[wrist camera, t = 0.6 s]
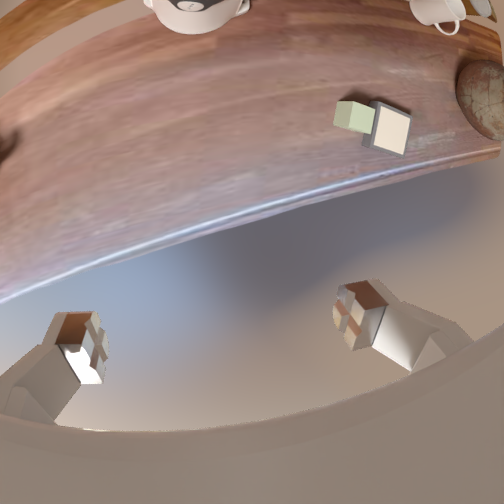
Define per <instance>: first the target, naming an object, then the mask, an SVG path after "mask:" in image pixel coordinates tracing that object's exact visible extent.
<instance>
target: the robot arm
mask: <svg viewBox="0 0 504 504" xmlns="http://www.w3.org/2000/svg"><path fill="white" fill-rule="evenodd" d="M242 1H243V2H244V3H242ZM144 4H145V5H146V6H147V7H149V8H151V9H152V10H154V12H155V13H156V15H157V17H158V19H159V20H160V21H161V22H162V24H164V25H165V26H166V27H168V28H169V29H171V30H173V31H176V32H179V33H184V34H201V33H206V32H210V31H213V30H215V29H217V28H219V27H221V26H222V25H224V24H225V23H226V22H228V21H229V20H230V19H231V18H233V17H235V16H238V15H242V14H244V13H246V12H248V10H249V7H250V4H249V0H144ZM336 295H337V297H338V299H339V300H338V301H337V302H336V303H335V304H334V307H333V320H334V323H335V325H336V327H337V329H338V330H340V331H341V332H344V333H345V335H344V339H345V341H346V342H347V344H348V346H349V347H350V349H351V350H352V351H354V350H358V349H362V348H366V347H369V346H372V347H373V348H375V349H376V350H378V351H379V352H381V353H383V354H384V355H386V356H387V357H389V358H390V359H392V360H393V361H395V362H397V363H398V364H400V365H401V366H403V367H404V368H406V369H408V370H409V371H411V372H410V374H409V375H408V376H406V377H403V378H401V379H399V380H396V381H393V382H391V383H388V384H386V385H383V386H381V387H378V388H375V389H373V390H370V391H367V392H364V393H361V394H359V395H356V396H353V397H350V398H346V399H343V400H340V401H337V402H334V403H330V404H327V405H324V406H320V407H316V408H312V409H308V410H305V411H301V412H297V413H293V414H288V415H283V416H279V417H274V418H269V419H264V420H258V421H253V422H247V423H240V424H234V425H226V426H219V427H209V428H199V429H187V430H170V431H111V430H110V431H109V430H94V429H83V428H74V427H65V426H58V425H57V424H56V423H55V421H54V420H55V419H56V418H57V416H58V415H59V413H60V412H61V411H62V410H63V408H64V407H65V405H66V404H67V403H68V402H69V400H70V399H71V398H72V396H73V395H74V394H75V392H76V391H77V390H78V389H79V387H80V386H81V384H103V382H104V376H105V371H106V367H105V365H104V363H103V362H104V361H105V360H106V359H108V355H109V342H108V338H107V335H106V332H105V331H104V330H103V329H101V328H100V327H99V326H100V323H101V320H100V318H99V315H98V313H96V312H95V311H89V312H58V313H56V314H55V316H54V318H53V320H52V322H51V324H50V326H49V328H48V331H47V333H46V335H45V337H44V339H43V342H42V344H41V345H37V346H35V347H34V348H33V349H32V350H31V351H29V352H28V353H27V354H26V355H25V356H23V357H22V358H21V359H20V360H19V361H18V362H16V363H15V364H14V365H13V366H12V367H10V368H9V369H8V370H7V371H6V372H5V373H4V374H2V375H1V376H0V504H504V324H502V325H501V326H499V327H498V328H496V329H495V330H493V331H491V332H490V333H488V334H487V335H485V336H483V337H482V338H481V339H479V340H477V341H475V342H474V341H473V340H472V339H471V338H470V337H469V336H468V335H467V333H466V332H465V331H464V330H463V329H462V328H461V327H460V326H459V325H458V324H457V323H456V322H453V321H451V320H449V319H446V318H444V317H441V316H439V315H436V314H434V313H431V312H429V311H427V310H424V309H422V308H419V307H417V306H414V305H412V304H409V303H407V302H400V301H399V299H398V298H397V297H396V296H395V295H394V294H393V293H392V292H391V291H390V290H389V289H388V288H387V287H386V286H385V285H384V284H383V283H382V282H380V280H379V279H376V278H372V279H368V280H364V281H360V282H354V283H348V284H342V285H339V287H338V289H337V293H336Z"/></svg>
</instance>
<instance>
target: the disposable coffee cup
mask: <svg viewBox="0 0 504 504" xmlns="http://www.w3.org/2000/svg"><path fill="white" fill-rule="evenodd" d="M461 1H462V3H463V5H464V7H465V11H466V15H476V16H483V17H488V16H490V15H491V7H490V4H489V2H488V0H461Z"/></svg>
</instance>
